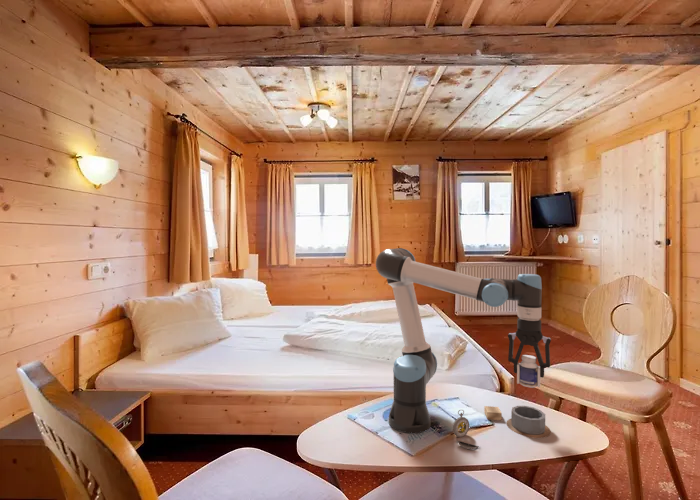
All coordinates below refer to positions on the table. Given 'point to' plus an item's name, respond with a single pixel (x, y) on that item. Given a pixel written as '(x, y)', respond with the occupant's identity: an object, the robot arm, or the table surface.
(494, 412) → the oak block
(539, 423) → the grey round bowl
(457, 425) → the pocket watch
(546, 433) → the board
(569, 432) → the table surface
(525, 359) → the pill bottle
